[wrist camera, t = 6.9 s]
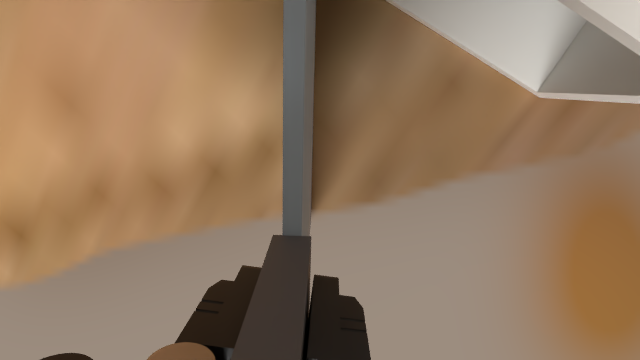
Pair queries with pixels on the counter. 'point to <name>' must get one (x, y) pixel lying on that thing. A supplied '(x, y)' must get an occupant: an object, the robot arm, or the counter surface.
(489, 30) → the carton
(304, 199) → the front flap
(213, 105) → the counter surface
